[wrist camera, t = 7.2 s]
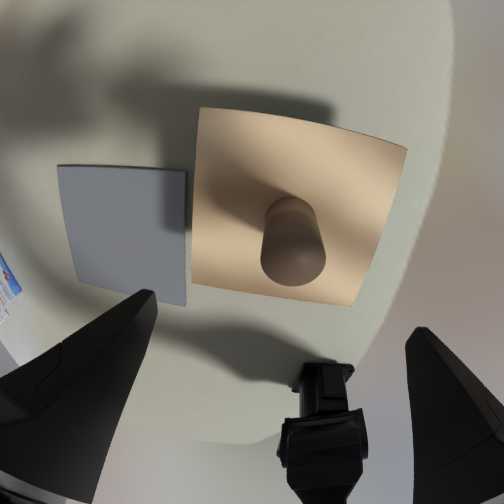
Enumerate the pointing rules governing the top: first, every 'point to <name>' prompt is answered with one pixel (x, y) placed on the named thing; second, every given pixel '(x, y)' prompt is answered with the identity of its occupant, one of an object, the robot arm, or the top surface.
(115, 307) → the robot arm
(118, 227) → the mat
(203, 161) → the lid
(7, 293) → the medicine box
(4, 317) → the supplement box
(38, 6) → the top surface
